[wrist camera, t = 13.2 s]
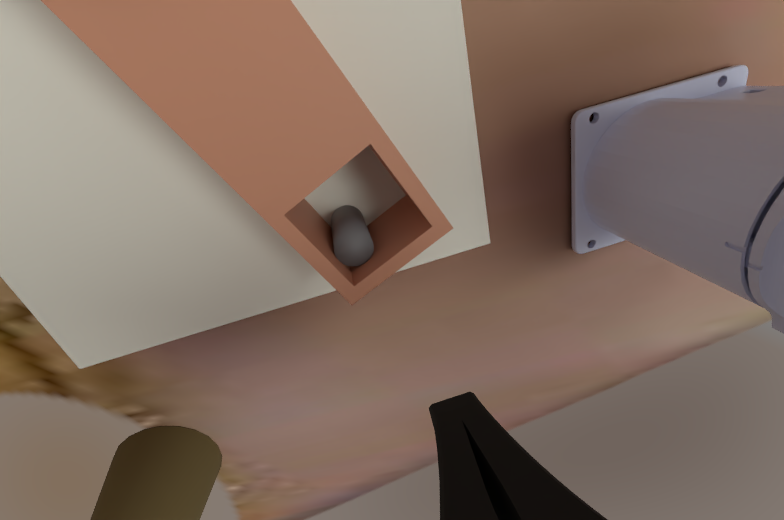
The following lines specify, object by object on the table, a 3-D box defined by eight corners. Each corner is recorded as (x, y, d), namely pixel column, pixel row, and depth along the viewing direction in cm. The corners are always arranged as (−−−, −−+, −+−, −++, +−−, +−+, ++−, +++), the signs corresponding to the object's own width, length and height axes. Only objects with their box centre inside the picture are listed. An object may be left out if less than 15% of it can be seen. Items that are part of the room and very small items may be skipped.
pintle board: (403, -404, 11) (508, -981, 5) (485, 239, 20) (553, 299, 15) (-425, -253, 9) (-1647, -816, 3) (86, 361, 19) (-15, 481, 13)
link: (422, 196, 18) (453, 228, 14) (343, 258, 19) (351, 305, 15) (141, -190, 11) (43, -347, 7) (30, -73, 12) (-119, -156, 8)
